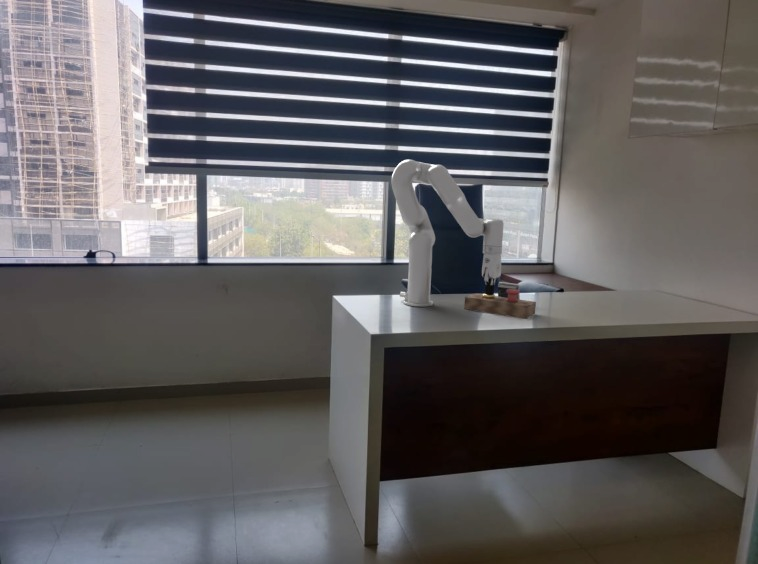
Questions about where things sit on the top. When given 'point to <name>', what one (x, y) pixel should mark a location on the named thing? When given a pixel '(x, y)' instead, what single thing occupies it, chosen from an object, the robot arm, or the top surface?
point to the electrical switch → (503, 288)
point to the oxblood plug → (512, 295)
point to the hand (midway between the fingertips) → (489, 294)
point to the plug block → (500, 306)
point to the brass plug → (488, 296)
